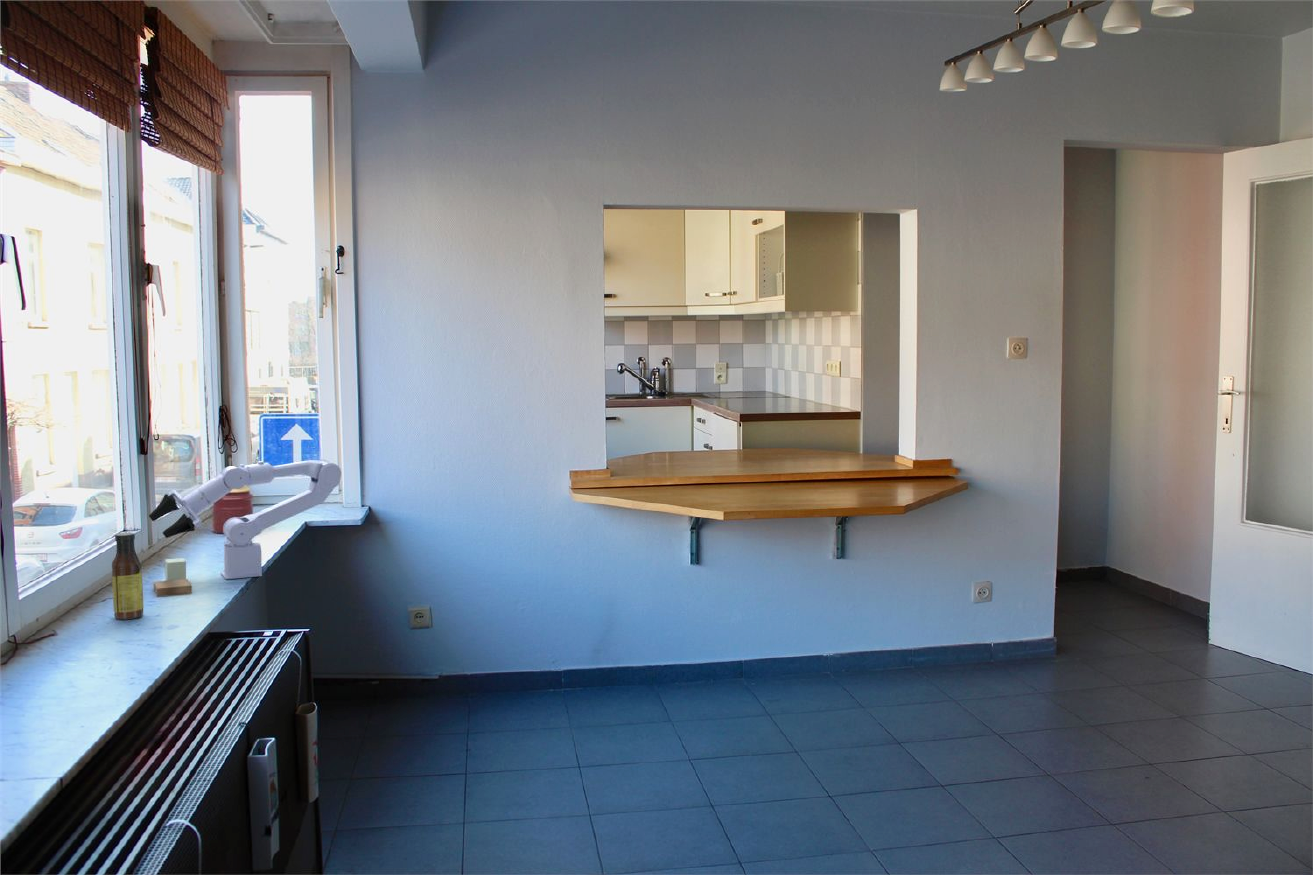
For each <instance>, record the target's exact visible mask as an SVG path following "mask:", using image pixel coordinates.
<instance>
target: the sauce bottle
mask: <svg viewBox="0 0 1313 875" xmlns="http://www.w3.org/2000/svg"><path fill="white" fill-rule="evenodd" d="M114 536H115V537H114V540H115V542H116V550H115V552H116V553H115V557H114V558H113V560H112V562H111V570H112V571H111V572H112V574H111V583H112V598H113V599H112V601H113V603H112V604H113V605H112V606H113V612H114V618H115V619H118V620H132V619H133V620H135V619H137V618H141V617H142V616H143V615H144V592H143V591H144V590H143V588H144V587H143V568H142V564H141V562H140V560H139V557H138V555H137V553H136V548H135V539H136V538H135V537H136V534H135V533H134V532H130V531H128V532H119V533H116V534H115V535H114Z"/></svg>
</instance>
